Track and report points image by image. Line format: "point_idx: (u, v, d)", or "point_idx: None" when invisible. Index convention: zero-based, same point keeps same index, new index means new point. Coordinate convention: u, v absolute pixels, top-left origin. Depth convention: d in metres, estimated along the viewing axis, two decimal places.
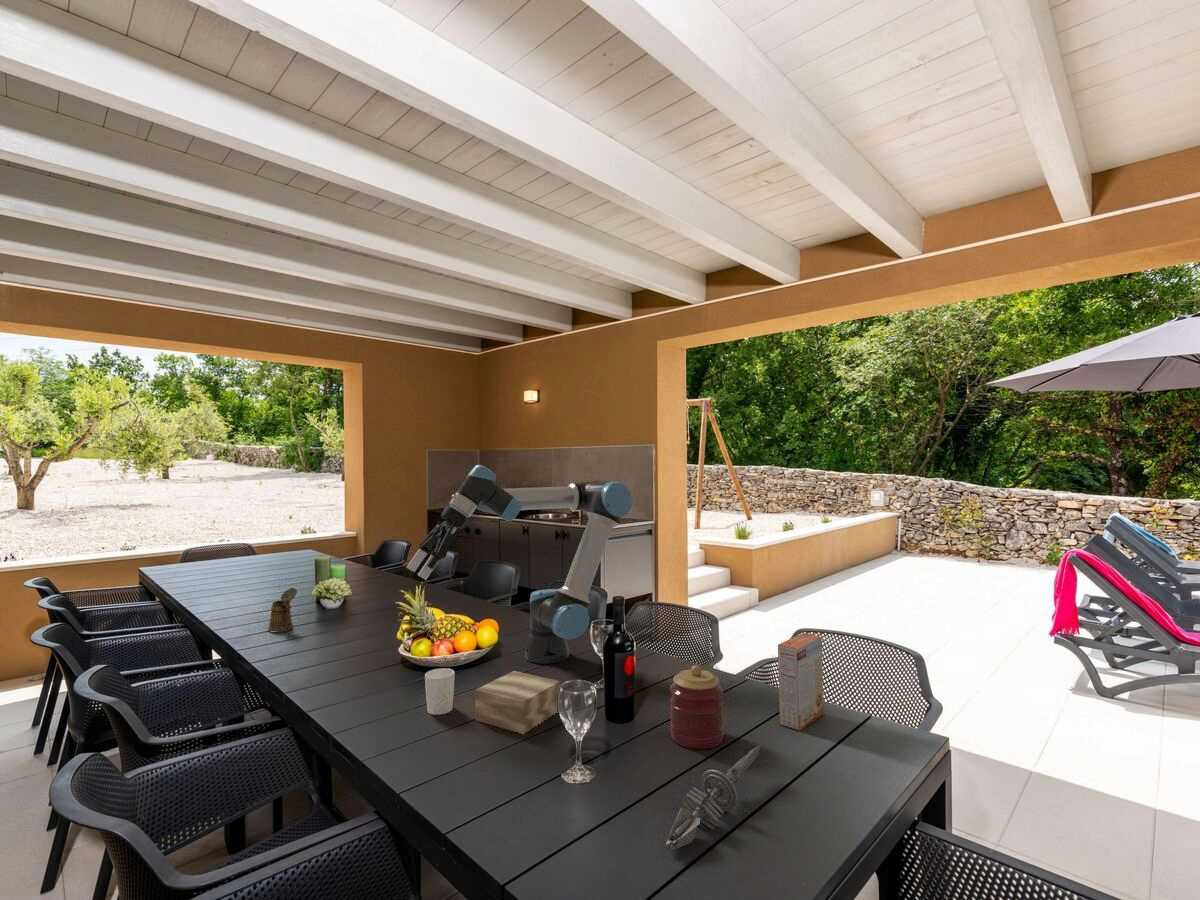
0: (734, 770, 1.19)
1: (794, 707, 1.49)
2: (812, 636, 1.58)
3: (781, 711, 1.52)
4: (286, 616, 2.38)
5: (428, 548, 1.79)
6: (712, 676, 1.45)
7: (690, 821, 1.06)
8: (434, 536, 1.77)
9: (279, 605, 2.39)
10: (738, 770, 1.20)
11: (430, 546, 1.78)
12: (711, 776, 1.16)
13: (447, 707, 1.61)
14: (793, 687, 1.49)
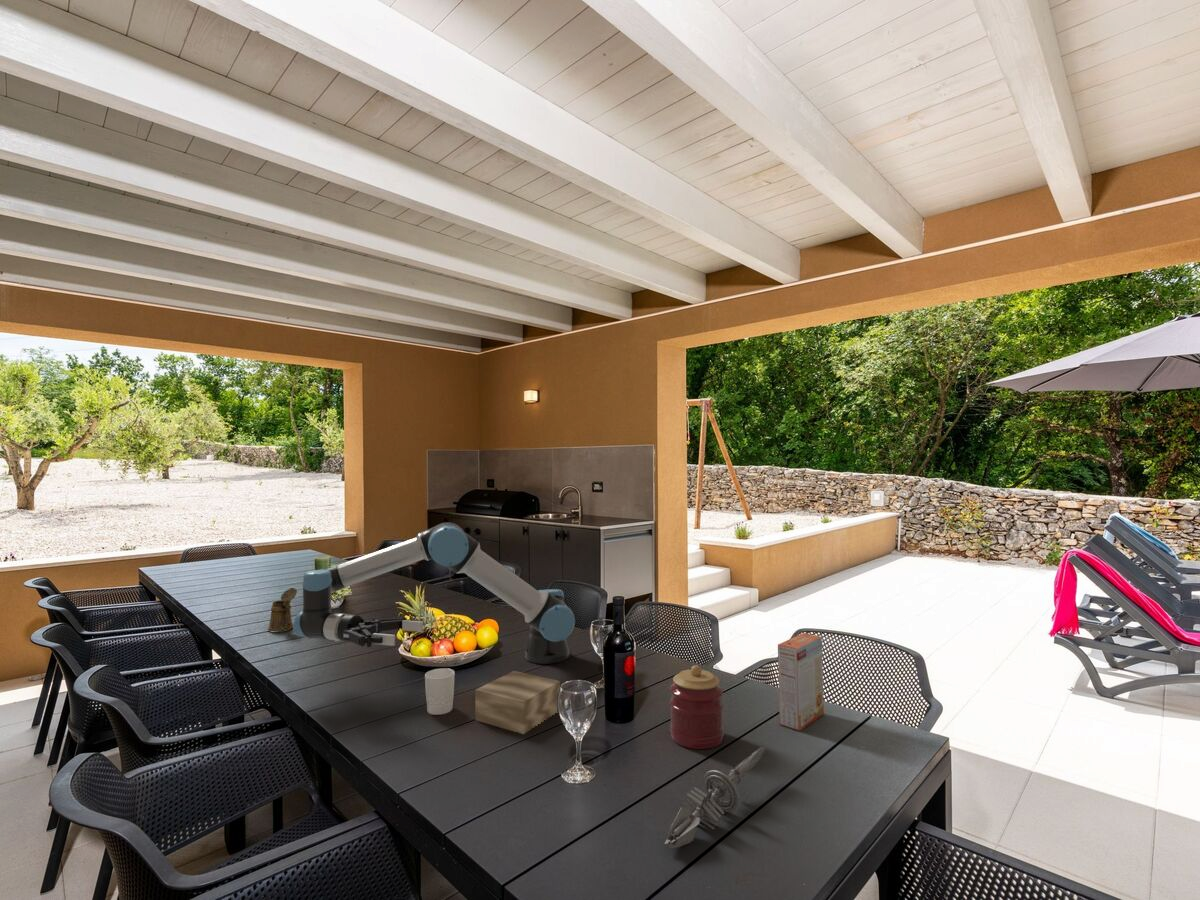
0: (736, 771, 1.18)
1: (794, 707, 1.49)
2: (812, 636, 1.58)
3: (781, 711, 1.52)
4: (286, 616, 2.38)
5: (397, 622, 1.74)
6: (712, 676, 1.45)
7: (690, 821, 1.06)
8: (380, 629, 1.72)
9: (279, 605, 2.39)
10: (740, 771, 1.19)
11: (394, 623, 1.74)
12: (712, 776, 1.16)
13: (447, 707, 1.61)
14: (793, 687, 1.49)
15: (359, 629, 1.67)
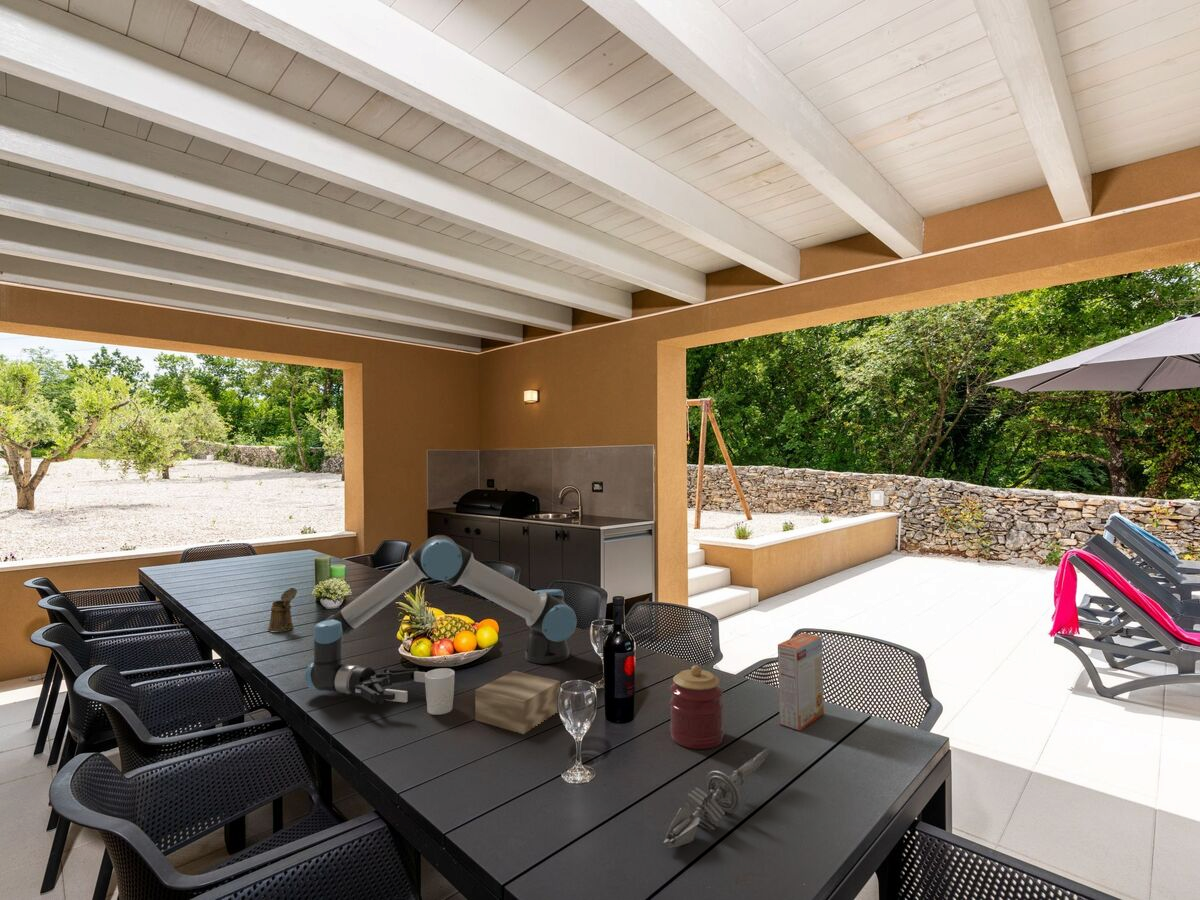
0: (739, 772, 1.18)
1: (794, 707, 1.49)
2: (812, 636, 1.58)
3: (781, 711, 1.52)
4: (286, 616, 2.38)
5: (409, 674, 1.72)
6: (712, 676, 1.45)
7: (689, 821, 1.06)
8: (391, 681, 1.70)
9: (279, 605, 2.39)
10: (744, 772, 1.19)
11: (405, 674, 1.72)
12: (714, 777, 1.15)
13: (447, 707, 1.61)
14: (793, 687, 1.49)
15: (371, 683, 1.65)
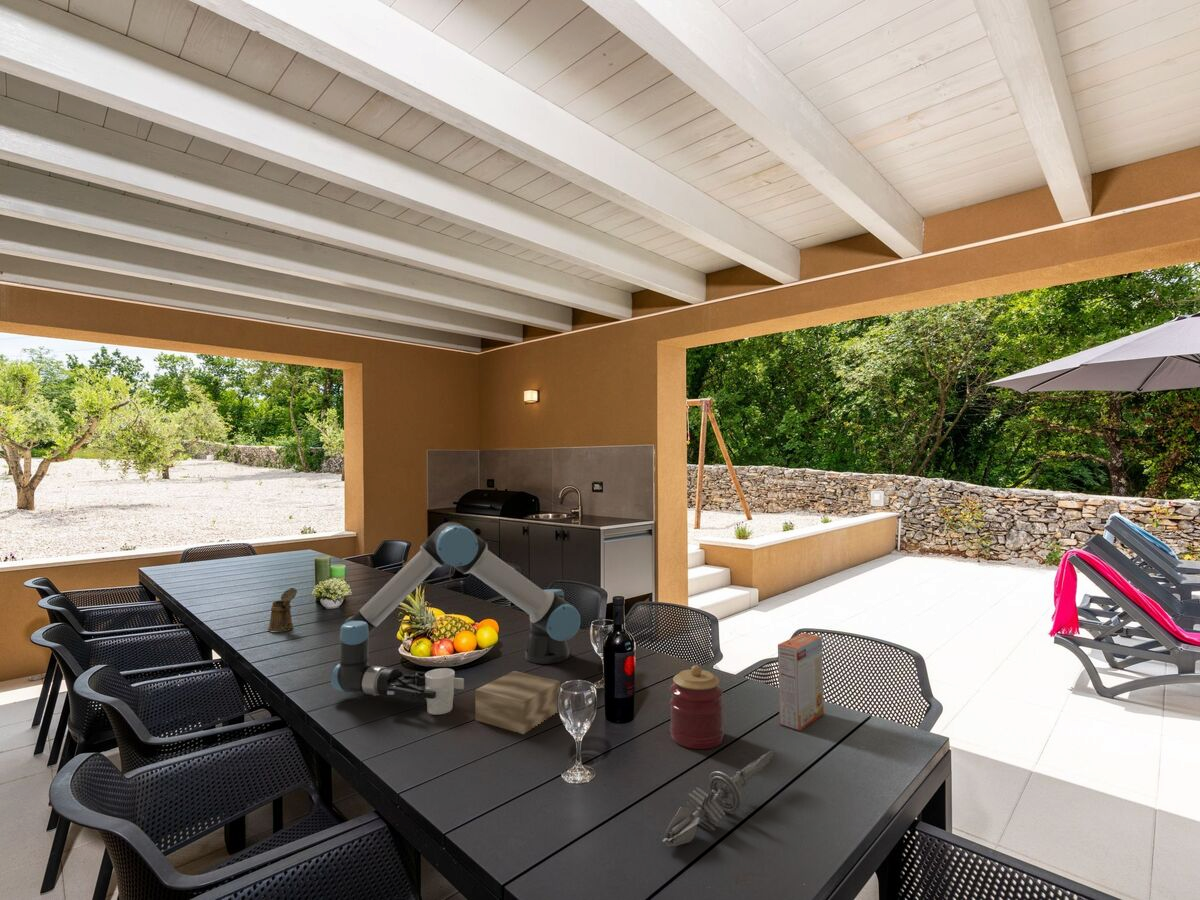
0: (741, 773, 1.17)
1: (794, 707, 1.49)
2: (812, 636, 1.58)
3: (781, 711, 1.52)
4: (286, 616, 2.38)
5: None
6: (712, 676, 1.45)
7: (689, 820, 1.06)
8: (418, 684, 1.67)
9: (279, 605, 2.39)
10: (746, 773, 1.18)
11: None
12: (716, 777, 1.15)
13: (447, 707, 1.61)
14: (793, 687, 1.49)
15: (402, 684, 1.63)
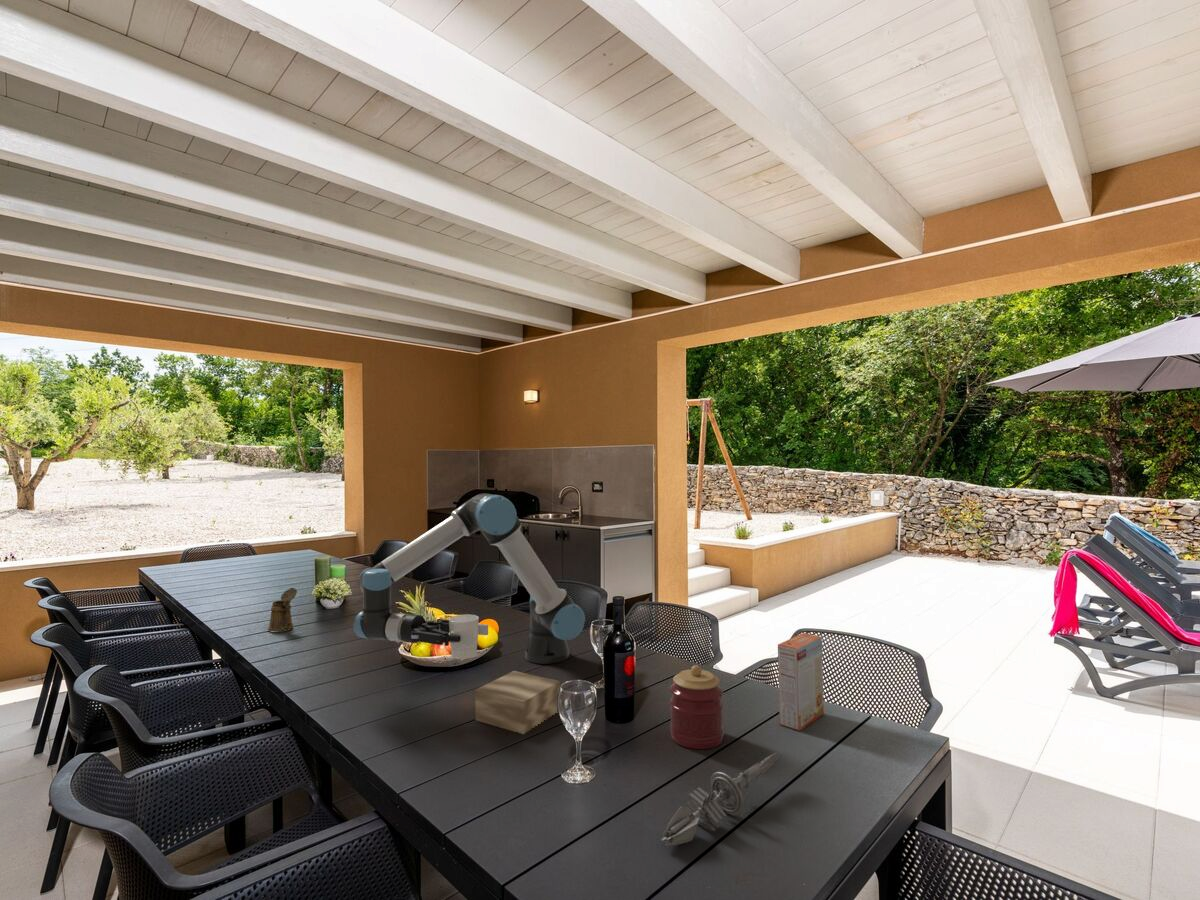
0: (744, 774, 1.17)
1: (794, 707, 1.49)
2: (812, 636, 1.58)
3: (781, 711, 1.52)
4: (286, 616, 2.38)
5: None
6: (712, 676, 1.45)
7: (688, 820, 1.06)
8: (442, 631, 1.65)
9: (279, 605, 2.39)
10: (749, 775, 1.18)
11: None
12: (718, 778, 1.15)
13: (471, 652, 1.58)
14: (793, 687, 1.49)
15: (426, 629, 1.61)
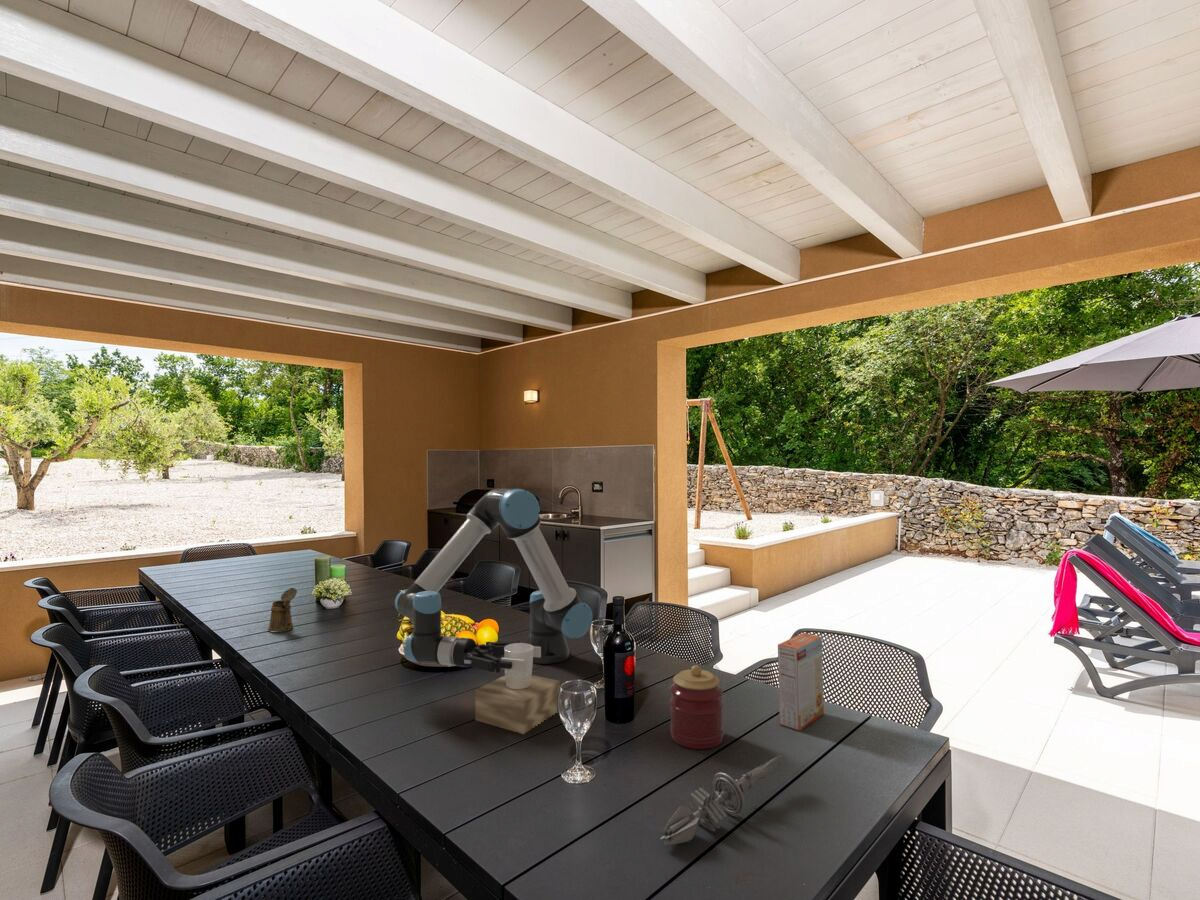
0: (747, 776, 1.16)
1: (794, 707, 1.49)
2: (812, 636, 1.58)
3: (781, 711, 1.52)
4: (286, 616, 2.38)
5: None
6: (712, 676, 1.45)
7: (688, 820, 1.07)
8: (494, 654, 1.64)
9: (279, 605, 2.39)
10: (752, 776, 1.17)
11: None
12: (720, 779, 1.15)
13: (527, 682, 1.57)
14: (793, 687, 1.49)
15: (478, 654, 1.59)
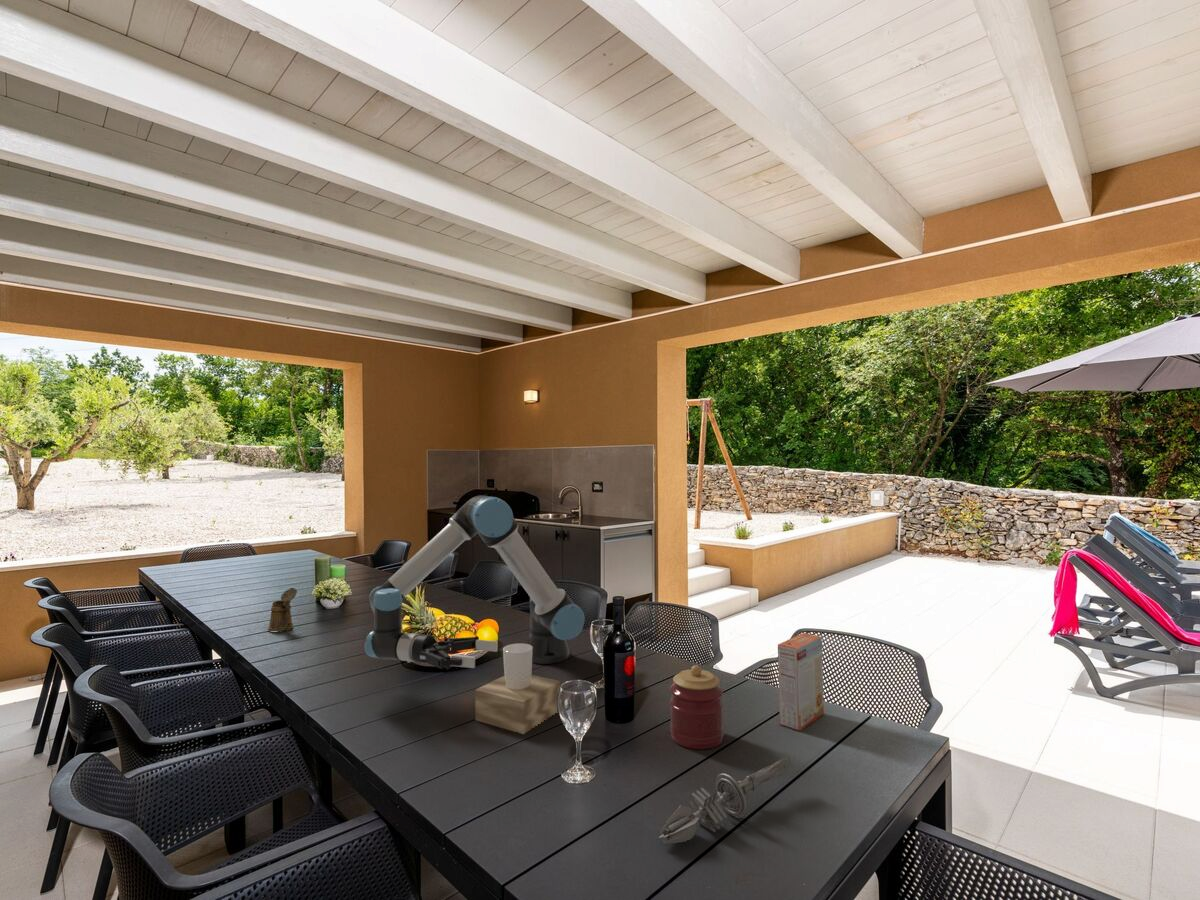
0: (750, 777, 1.16)
1: (794, 707, 1.49)
2: (812, 636, 1.58)
3: (781, 711, 1.52)
4: (286, 617, 2.38)
5: (471, 642, 1.70)
6: (712, 676, 1.45)
7: (687, 819, 1.07)
8: (453, 650, 1.68)
9: (279, 605, 2.39)
10: (756, 778, 1.17)
11: (467, 643, 1.70)
12: (722, 780, 1.14)
13: (526, 682, 1.57)
14: (793, 687, 1.49)
15: (435, 650, 1.63)
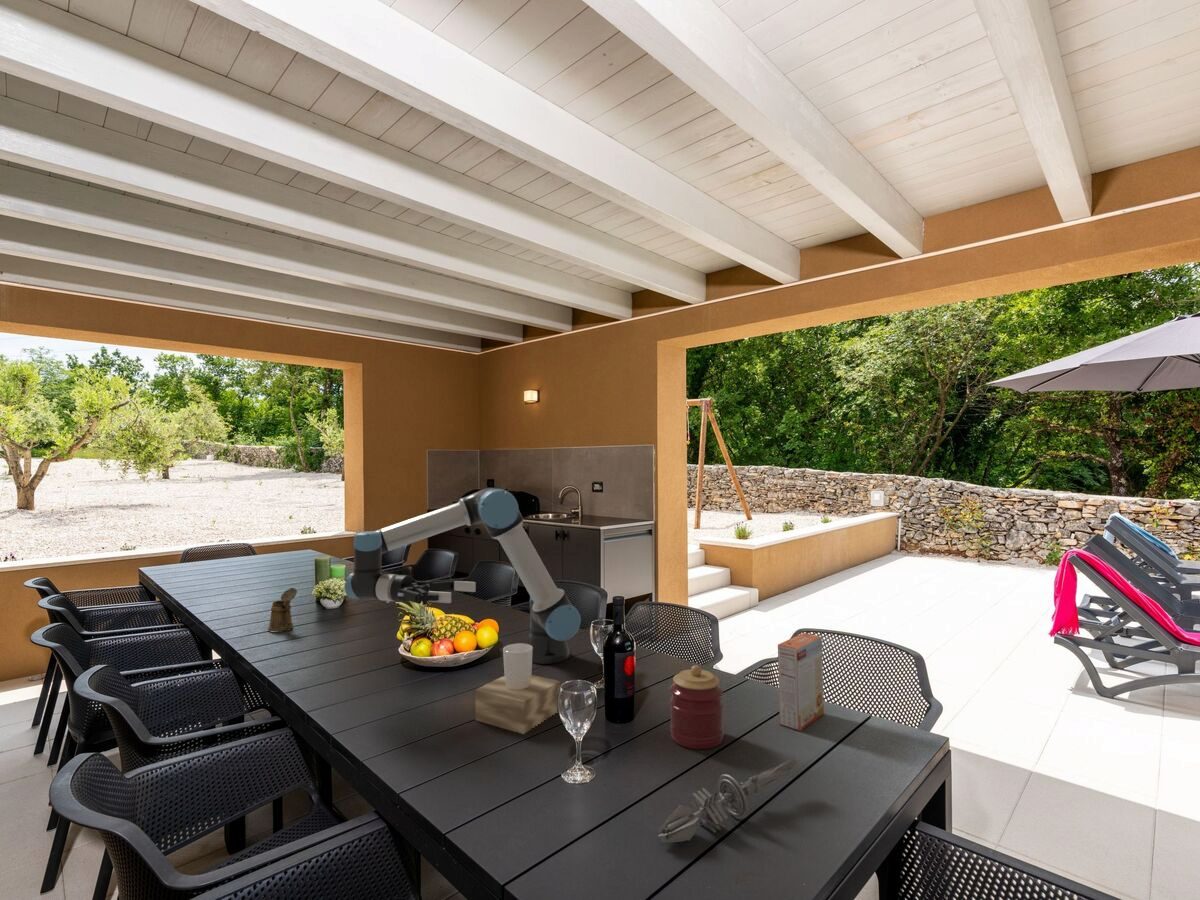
0: (753, 779, 1.15)
1: (794, 707, 1.49)
2: (812, 636, 1.58)
3: (781, 711, 1.52)
4: (286, 616, 2.38)
5: (449, 583, 1.72)
6: (712, 676, 1.45)
7: (687, 819, 1.07)
8: (432, 590, 1.70)
9: (279, 605, 2.39)
10: (759, 780, 1.16)
11: (445, 583, 1.72)
12: (724, 781, 1.14)
13: (526, 682, 1.57)
14: (793, 687, 1.49)
15: (413, 588, 1.65)
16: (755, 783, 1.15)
